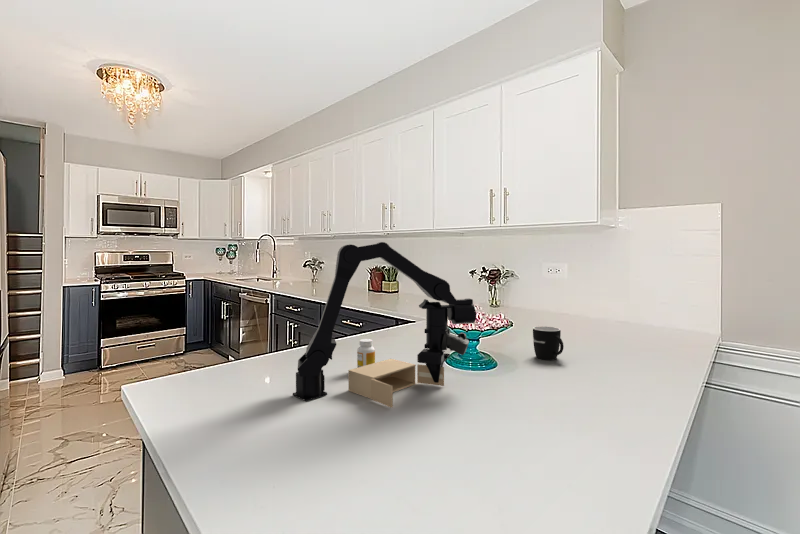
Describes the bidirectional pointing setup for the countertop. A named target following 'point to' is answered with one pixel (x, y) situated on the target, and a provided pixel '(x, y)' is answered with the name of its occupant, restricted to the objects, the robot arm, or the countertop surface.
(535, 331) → the mug
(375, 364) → the carton
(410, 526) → the countertop surface
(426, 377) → the right flap
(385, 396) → the left flap
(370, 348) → the supplement bottle
